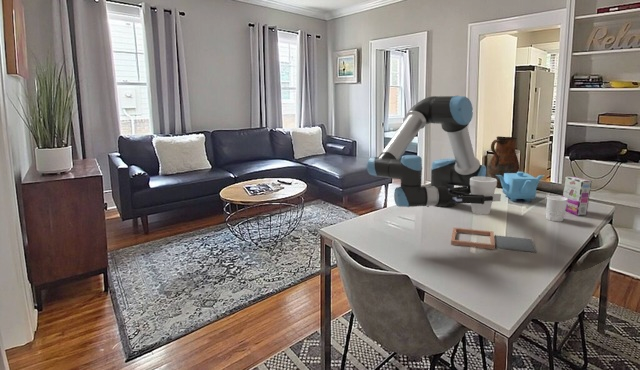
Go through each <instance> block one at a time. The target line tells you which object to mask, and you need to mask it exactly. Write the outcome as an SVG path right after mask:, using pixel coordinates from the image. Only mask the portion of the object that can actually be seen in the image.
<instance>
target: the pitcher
mask: <svg viewBox="0 0 640 370" xmlns="http://www.w3.org/2000/svg"><path fill="white" fill-rule="evenodd" d="M516 140H517V137H516V136H496V139H494V140H493V141H492V142H491V144H490V150H491V152H492V153H493V155H492V157H491V158H490V160H489V163H488V165H487V170H488V174H489V177H491V178H495V179H497V186H496V188H495V189H503V187H502V185H501V180H500V178H499V177H498V176H496V175H501V176H503V178H504V173H517V172H520V162H519V159H518V155H517V154H516V153H517V152H516V142H517V141H516Z"/></svg>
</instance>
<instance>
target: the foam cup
mask: <svg viewBox="0 0 640 370" xmlns="http://www.w3.org/2000/svg"><path fill="white" fill-rule="evenodd" d="M496 186H497V179H495V178H492V177H491V176H485V177H482V176H478V177H471V178H470V190H471V193H470V194H474V195H483V194H495V192H496V189H497V188H496ZM470 205H471V212H472V213H473V214H477V215H489V214H490V212H491V210H492V205H493V201H492V202H484V204H475V203H470Z"/></svg>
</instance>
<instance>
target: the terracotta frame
mask: <svg viewBox="0 0 640 370" xmlns="http://www.w3.org/2000/svg"><path fill="white" fill-rule="evenodd" d="M457 233H460V234H461V233H462V234H471V235H478V236H479V235H481V236H489V238H490V239H489V241H490V243H486V242H478V241H469V240H461V239H460V240H458V239H456V237H457ZM450 244H451V245H453V246H455V245H456V246H463V247H470V248H471V247H473V248H474V247H475V248H479V249H481V248H482V249H489V250H495V249H496V241H495V233H494V231H492V230H491V231H490V230H481V229H473V228H472V229H471V228H463V227H462V228H461V227H453V229H452V235H451V240H450Z"/></svg>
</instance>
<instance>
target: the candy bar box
mask: <svg viewBox="0 0 640 370" xmlns="http://www.w3.org/2000/svg"><path fill="white" fill-rule="evenodd" d="M564 178H565V179H564V186H563V193H562V197H565V198H567V199H568V200H567V206H566V211H565V212H567V213H570V214H572V215H575V216H578V217H579V216H581V217H583V216H584V217H585V216H587V214H588V208H589V201H590V195H591V188H592V180H589V179H584V178H582V177H579V176H578V177H577V176H571V175H570V176H565V177H564Z"/></svg>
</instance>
